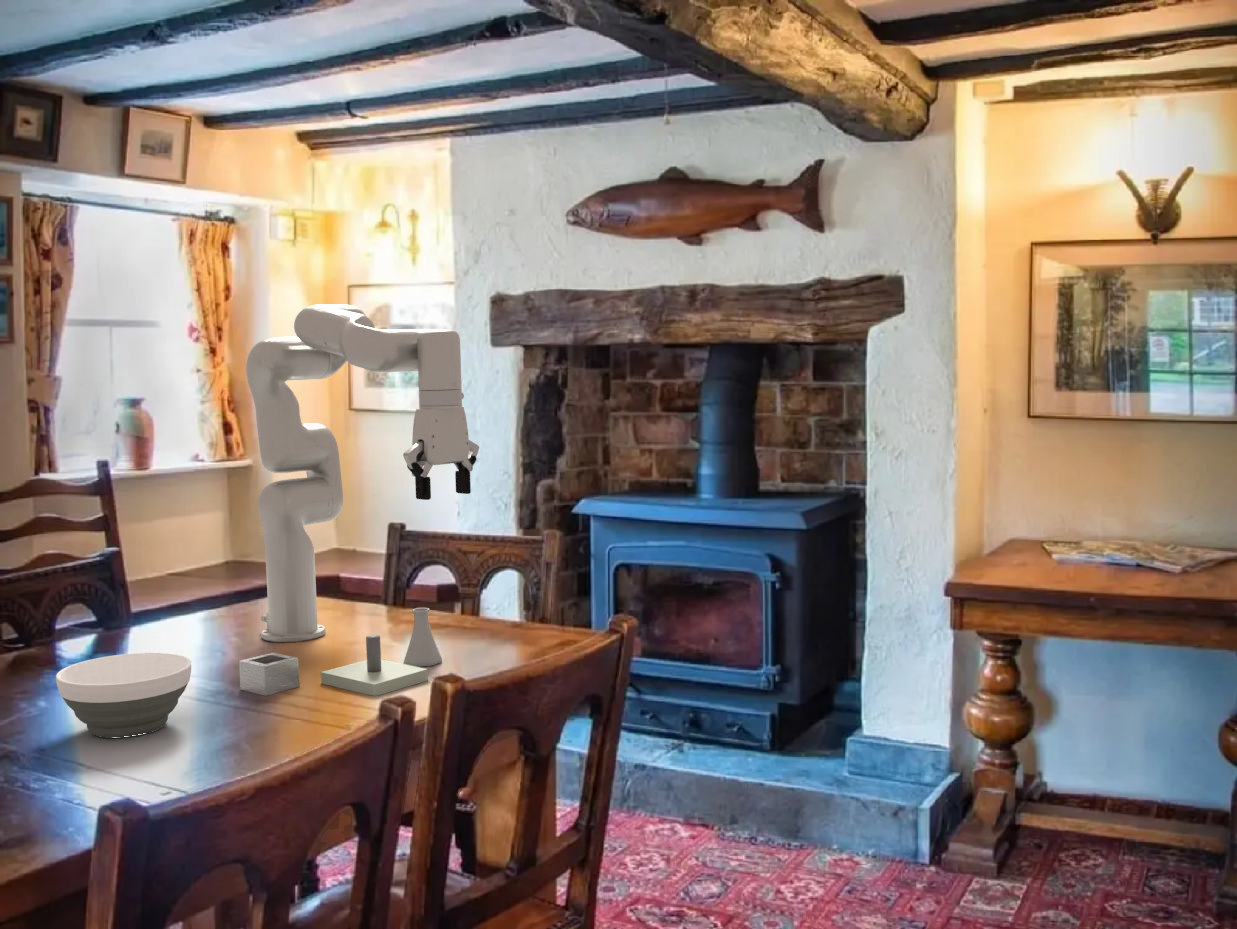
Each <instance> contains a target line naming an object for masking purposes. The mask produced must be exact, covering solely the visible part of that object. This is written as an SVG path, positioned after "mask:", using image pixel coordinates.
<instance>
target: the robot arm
mask: <svg viewBox="0 0 1237 929" xmlns="http://www.w3.org/2000/svg"><path fill="white" fill-rule="evenodd" d="M293 328H294V329H293V330H294V333H295V335H296V336H281V337H280V336H279V337H271V338H266V339H264V340H261V341H259V342H257V343H255V345H253V346H252V348H251V349H250V351H249V353H248V356H247V358H246V365H245V366H246V367H245V372H246V379H247V382H248V387H249V390H250V393H251V396H252V400H253V403H254V407H255V409H254V410H255V417H256V418H255V419H256V420H255V421H256V428H257V436H258V437H257V438H258V445H259V453H260V459H261V462H262V463H261V464H262V465H263V467H264V469H265V470H267V471H268V472H270V473H275V474H286V473H287V474H288V473H297V472H306V473H305V474H306V477H297V478H290V479H281V480H276V481H274V482H270V483H269V484H267V485H266V486H264V487H263V488H262V489H261V491H260V492H259V494H258V498H257V510H258V515H259V519H260V523H261V527H262V531H263V532H262V533H263V539H264V549H265V550H264V552H265V554H264V555H265V570H266V573H265V574H266V590H267V591H266V594H267V612H266V614H263V615H261V616H260V621H262V622H265V623H266V628H265V629H263V630H262V631H261V633H260V634H261V635H260V637H261V639H263V640H264V641H267V642H275V643H294V642H301V641H309V640H315V639H318V638H320V637H322V636H324V635H325V634H326V631H327V630H326V626H325V625H322V624H318V609H317V608H318V604H317V584H316V582H317V581H316V563H315V562H316V561H315V560H316V559H315V548H314V544H313V541H312V539H311V537H310V536H309V534H308V533H307V532H306V530H305V527H304V526H308V525H315V524H321V523H327V522H330V521H333V520H335V519H336V518H337V517H338V516H339V515H340V514H341V512H342V509H343V504H344V493H343V492H344V491H343V482H342V474H341V462H340V453H339V446H338V442H337V439H336V438H335V435H334V433H333V432H332V430H330V428H329V427H327V426H326V425H324V424H322V423H315V422H314V423H312V422H311V423H310V422H309V423H302V419H301V413H300V412H301V411H300V405H299V401H298V398H297V397H296V395H295V393H294V391H293V390H292V389H291V388H290V386H289V385H288V384H287V383H286V382H287V381H304V380H305V381H307V380H323V379H327V378H330V377H332V376H333V375H335V374H336V373H337V372H338V371H339V370H341V368H342V367H343V366H344V365H346V363H347V362H348V364H350V365H352V366H353V367H356V368H357V367H358V368H361V369H364V370H368V371H372V372H373V371H374V372H378V373H395V372H398V373H399V372H401V373H402V372H417V374H418V376H417V380H418V381H417V382H418V384H417V385H418V405H419V407H418V408H415V412H414V418H413V425H412V439H411V440H412V442H411V446H410V448H408V449H407V450H406V451H405V452H403V455H402V456H403V459H404V461H405V463H406V465H407V466H406V467H407V469H408V470H409V471H410V472H411V476H412V477H414V480H415V481H414V482H415V483H414V484H415V499H417V500H425V501H426V500H427V501H429V500H431V498H432V492H431V490H432V489H431V477H430V476H428V475H429V474H430V471H431V469H432V468H433V466H440V465H448V464H450V465H451V464H454V466H455V467H456V469H457V470H455V472H454V476H455V477H454V478H455V492H456V493H457V494H461V495H464V494H465V495H470V494H471V492H472V491H471V490H472V488H471V472H472V471H473V469H474V467H473V466H474V464H475V463H476V461H477V456H478V453H479V449H480V446H479V445H478V444H477V443H475V442H473V441H471V440H470V439H469V428H468V422H467V416H466V410H465V407H464V406H463V399H465V393H464V392H463V391H462V364H461V358H462V357H461V337H460V334H459V333H458V332H457V331H456V330H452V329H412V328H411V329H406V328H405V329H404V328H401V329H398V328H397V329H379V328H376V327H375V324H374V323H373V321H372V319H370V317H368V316H367V315H366V313H365V312H364V311H363V310H361V309H360V308H359V307H357V306H356V305H350V304H315V305H314V304H313V305H309V306H306V307H305V308H303V309H302V310H301V311H300V312H298V313H297V315H296V317H295V318H294V325H293Z"/></svg>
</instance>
